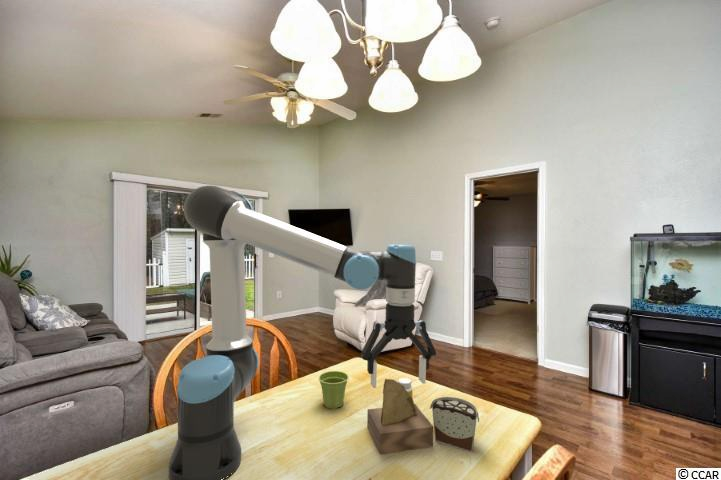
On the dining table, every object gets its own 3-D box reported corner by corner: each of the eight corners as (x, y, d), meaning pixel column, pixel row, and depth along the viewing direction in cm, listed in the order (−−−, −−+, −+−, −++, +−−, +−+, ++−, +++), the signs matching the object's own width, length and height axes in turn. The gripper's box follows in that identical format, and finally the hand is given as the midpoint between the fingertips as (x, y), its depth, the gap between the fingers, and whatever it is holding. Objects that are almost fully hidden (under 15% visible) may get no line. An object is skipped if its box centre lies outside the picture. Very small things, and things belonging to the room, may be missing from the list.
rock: (416, 397, 97) (381, 391, 98) (422, 381, 92) (385, 375, 93) (416, 438, 89) (377, 431, 90) (422, 423, 84) (381, 416, 84)
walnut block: (380, 454, 84) (380, 433, 84) (367, 427, 95) (367, 409, 95) (433, 446, 87) (433, 426, 87) (414, 421, 99) (414, 403, 99)
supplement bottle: (412, 404, 109) (412, 377, 108) (412, 412, 104) (413, 384, 104) (396, 403, 109) (396, 377, 109) (396, 411, 104) (397, 383, 104)
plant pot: (345, 413, 103) (345, 384, 103) (314, 410, 104) (314, 381, 104) (351, 398, 112) (351, 371, 112) (322, 396, 114) (323, 369, 114)
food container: (483, 441, 89) (483, 403, 89) (478, 454, 84) (478, 413, 84) (437, 427, 95) (437, 391, 95) (429, 439, 90) (429, 401, 90)
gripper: (357, 307, 84) (355, 394, 84) (450, 304, 90) (448, 385, 90) (350, 301, 91) (348, 381, 92) (437, 299, 97) (435, 374, 98)
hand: (398, 383), depth 91 cm, fingers open, 13 cm apart
